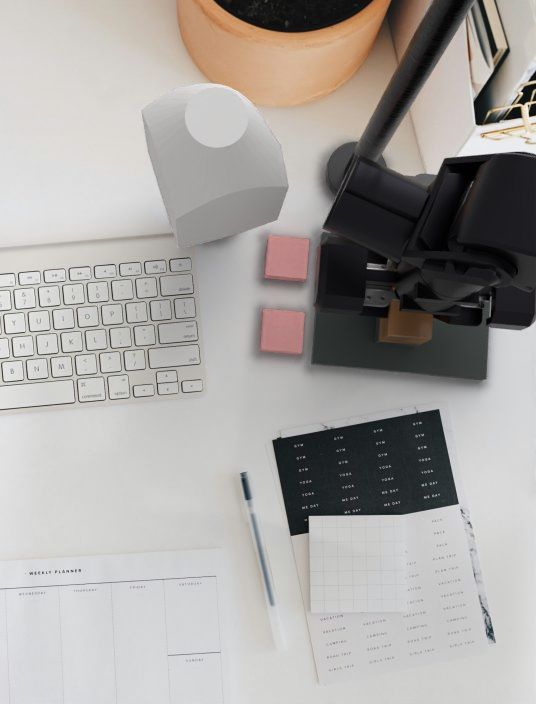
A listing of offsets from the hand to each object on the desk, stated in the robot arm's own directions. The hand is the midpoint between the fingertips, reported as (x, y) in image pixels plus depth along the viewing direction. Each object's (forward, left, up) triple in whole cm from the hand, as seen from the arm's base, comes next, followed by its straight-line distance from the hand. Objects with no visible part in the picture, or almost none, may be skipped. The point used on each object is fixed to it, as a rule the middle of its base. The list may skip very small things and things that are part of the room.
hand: (399, 304), depth 71 cm
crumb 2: (+11, +4, -2) cm, 12 cm away
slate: (-1, 0, -2) cm, 2 cm away
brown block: (0, 0, -1) cm, 1 cm away
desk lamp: (+5, -13, -2) cm, 14 cm away
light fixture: (+19, -8, -2) cm, 21 cm away
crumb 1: (+11, -4, -2) cm, 12 cm away
